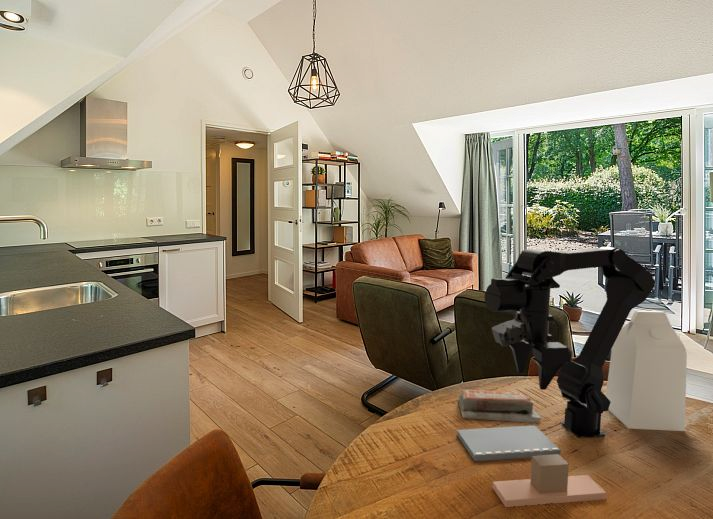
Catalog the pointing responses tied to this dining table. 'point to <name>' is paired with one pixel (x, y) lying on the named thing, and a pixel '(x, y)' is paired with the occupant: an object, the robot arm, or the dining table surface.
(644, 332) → the milk
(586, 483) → the stub
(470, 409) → the packaged product
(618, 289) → the robot arm
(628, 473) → the dining table surface
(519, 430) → the board
